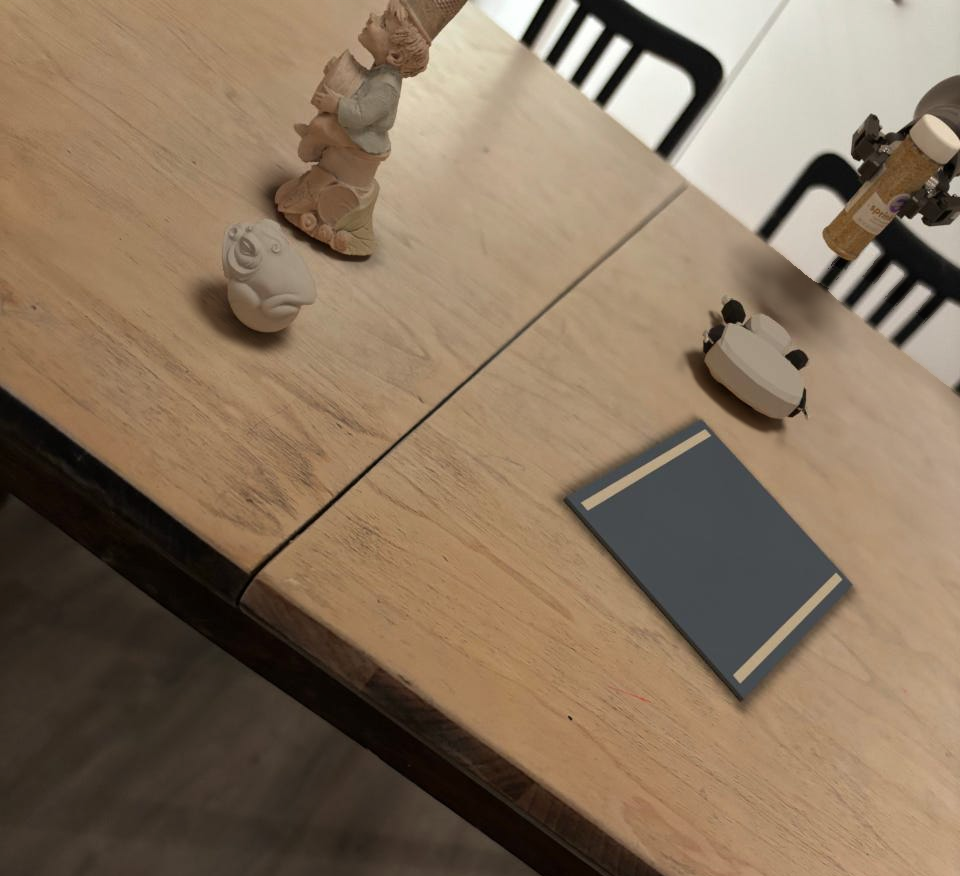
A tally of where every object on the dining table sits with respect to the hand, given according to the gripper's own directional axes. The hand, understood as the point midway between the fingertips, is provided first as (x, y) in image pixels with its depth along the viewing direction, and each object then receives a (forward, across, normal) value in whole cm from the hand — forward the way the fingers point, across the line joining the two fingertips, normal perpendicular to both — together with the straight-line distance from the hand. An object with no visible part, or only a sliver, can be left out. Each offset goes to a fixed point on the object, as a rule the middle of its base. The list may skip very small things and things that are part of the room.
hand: (887, 190), depth 92 cm
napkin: (+36, +10, +17) cm, 41 cm away
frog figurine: (+54, -25, +17) cm, 62 cm away
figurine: (+40, -31, +17) cm, 53 cm away
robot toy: (+11, +2, +18) cm, 21 cm away
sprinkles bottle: (-3, 0, +8) cm, 8 cm away
